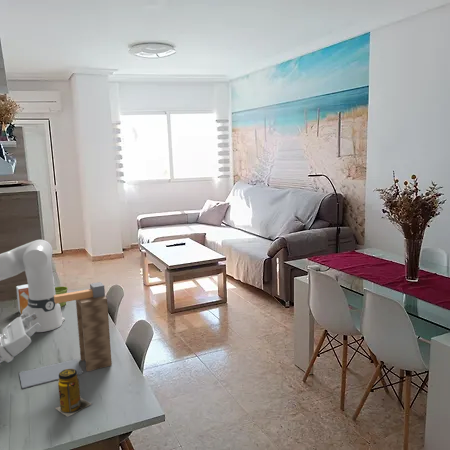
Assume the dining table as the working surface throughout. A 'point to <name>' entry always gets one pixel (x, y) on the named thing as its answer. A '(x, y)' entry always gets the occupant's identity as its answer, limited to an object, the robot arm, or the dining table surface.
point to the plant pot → (61, 291)
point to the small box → (22, 297)
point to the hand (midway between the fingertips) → (37, 319)
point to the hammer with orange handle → (81, 293)
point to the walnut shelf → (94, 332)
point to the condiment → (70, 393)
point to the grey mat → (47, 373)
